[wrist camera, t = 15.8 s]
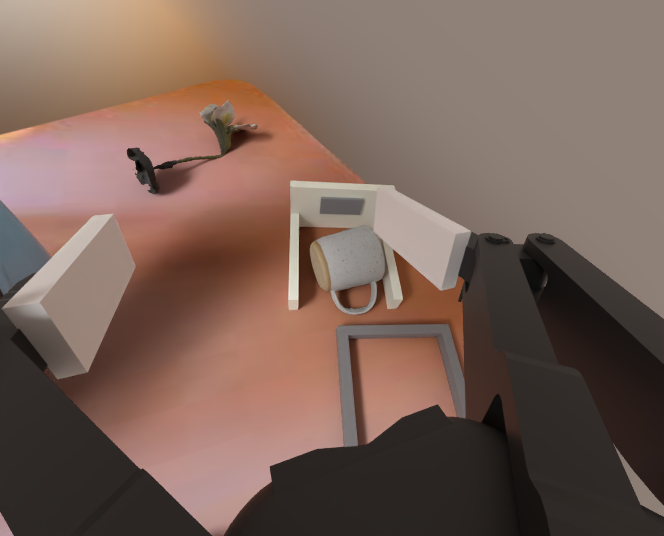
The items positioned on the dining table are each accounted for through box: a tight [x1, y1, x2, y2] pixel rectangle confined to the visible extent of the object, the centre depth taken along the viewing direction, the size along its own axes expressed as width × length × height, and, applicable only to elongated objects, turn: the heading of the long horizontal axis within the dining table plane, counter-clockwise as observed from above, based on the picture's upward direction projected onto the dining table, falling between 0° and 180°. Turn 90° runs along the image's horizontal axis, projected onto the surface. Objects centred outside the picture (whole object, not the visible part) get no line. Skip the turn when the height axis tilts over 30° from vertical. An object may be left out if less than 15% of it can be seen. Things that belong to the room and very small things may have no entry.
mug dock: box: [288, 181, 403, 310], centre depth 38 cm, size 14×15×8 cm
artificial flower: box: [127, 100, 258, 194], centre depth 48 cm, size 9×22×10 cm, turn 138°
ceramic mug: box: [310, 225, 385, 315], centre depth 36 cm, size 11×8×8 cm
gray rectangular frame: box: [336, 324, 466, 447], centre depth 32 cm, size 14×16×2 cm
